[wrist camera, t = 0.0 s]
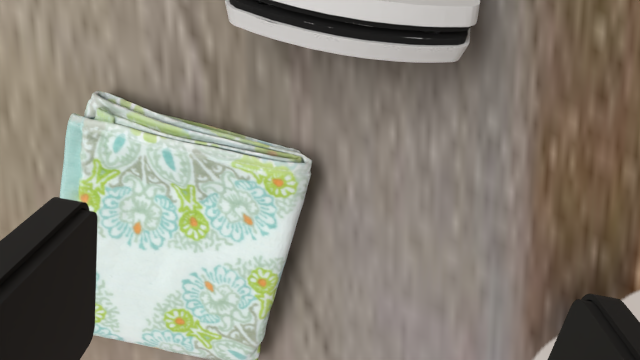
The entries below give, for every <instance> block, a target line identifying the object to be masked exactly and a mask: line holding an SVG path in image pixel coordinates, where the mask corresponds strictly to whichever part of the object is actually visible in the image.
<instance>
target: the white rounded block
mask: <svg viewBox="0 0 640 360" xmlns="http://www.w3.org/2000/svg"><path fill="white" fill-rule="evenodd" d="M225 3H226V8H227V13H228V17H229V21H230V22H231V23H232V24H233V25H235V26H237V27H240V28H243V29H245V30H248V31H251V32H253V33H256V34H260V35H263V36H266V37H269V38H272V39H275V40H279V41H283V42H286V43H290V44H294V45H298V46H302V47H305V48H309V49H314V50H320V51H325V52H330V53H335V54H340V55H346V56H353V57H359V58H366V59H376V60H387V61H397V62H418V63H438V62H455V61H458V60H459V59H460V57H461V56H462V54H463V53H464V51H465V49H466V48H467V46H468V45H469V43H470V27H471V26H473V25H475V24H476V23H477V18H478V12H479V6H480V0H225Z"/></svg>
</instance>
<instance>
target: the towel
mask: <svg viewBox="0 0 640 360" xmlns="http://www.w3.org/2000/svg"><path fill="white" fill-rule="evenodd" d="M311 165H312V160H311V159H309V158H307V157H306V156H305V155H303V154H301V152H300V151H299V150H296V149H293V148H286V147H284V146H281V145H276V144H272V143H269V142H265V141H261V140H257V139H254V138H251V137H248V136H244V135H241V134H237V133H234V132H230V131H227V130H223V129H220V128H216V127H213V126H209V125H205V124H202V123H196V122H192V121H188V120H183V119H179V118H175V117H171V116H167V115H164V114H159V113H156V112H153V111H150V110H148V109H146V108H143V107H141V106H138V105H136V104H134V103H131V102H128V101H126V100H124V99H122V98H120V97H118V96H114V95H112V94H110V93H105V92H101V91H96V92H94V93H93V94H92V97H91V99H90V100H89V101H88V104H87V107H86V110H85V115H84V117H82V116H80V115H78V114H75V113H73V114H72V115H71V116H70V119H69V121H68V126H67V132H66V139H65V153H64V165H63V173H62V181H61V190H60V198H63V199H69V200H74V201H80V202H85V203H87V204H88V207H89V211H93V212H95V213H96V214H97V220H98V223H97V262H96V302H95V329H94V334H93V335H96V336H100V337H105V338H111V339H116V340H121V341H125V342H131V343H135V344H140V345H145V346H149V347H153V348H157V349H161V350H166V351H170V352H175V353H180V354H185V355H191V356H195V357H200V358H205V359H210V360H258V357H259V354H260V347H261V342H262V341H263V339H264V336H265V331H266V325H267V321H268V318H269V313H270V309H271V306H272V304H273V301H274V298H275V295H276V291H277V288H278V284H279V282H280V278H281V275H282V272H283V268H284V265H285V263H286V260H287V256H288V252H289V249H290V245H291V242H292V239H293V235H294V232H295V228H296V225H297V222H298V218H299V215H300V212H301V209H302V206H303V203H304V198H305V194H306V191H307V187H308V183H309V180H310V176H311V172H310V168H311Z"/></svg>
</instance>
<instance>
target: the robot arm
mask: <svg viewBox="0 0 640 360" xmlns="http://www.w3.org/2000/svg"><path fill="white" fill-rule="evenodd" d="M97 223H98V220H97V214H96V213H95V212H93V211H89V207H88V204H87V203H85V202H80V201H74V200H69V199H63V198H58V197H54V198H52V199H51V200H50V201H48V202H47V203H46V204H45V205H44V206H42V207H41V208H40V209H39V210H37V211H36V212H35V213H34V214H33V215H31V216H30V217H29V218H28V219H27V220H25V221H24V222H23V223H22V224H20V225H19V226H18V227H17V228H16V229H14V230H13V231H12V232H11V233H10V234H8V235H7V236H6V237H5V238H4V239H2V240H1V241H0V360H80V358H81V357H82V355H83V354H84V352H85V351H86V349H87V348H88V346H89V344H90V342H91V340H92V337H93V334H94V329H95V302H96V262H97ZM548 360H640V322H639V321H638V320H637V319H636V318H635V316H634V315H633V314H632V313H631V311H630V310H629V309H628V308H627V306H626V305H625V304H624V303H623V302H622V301H621V300H620V299H616V298H610V297H605V296H599V295H594V294H587V295H585V296H584V297H583V298H582V299H581V300H580V299H578V300H575V301H574V302H573V304H572V306H571V308H570V310H569V312H568V315H567V317H566V319H565V321H564V324H563V326H562V328H561V331H560V333H559V335H558V337H557V340H556V342H555V344H554V346H553V349H552V351H551V353H550V356H549V358H548Z"/></svg>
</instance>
